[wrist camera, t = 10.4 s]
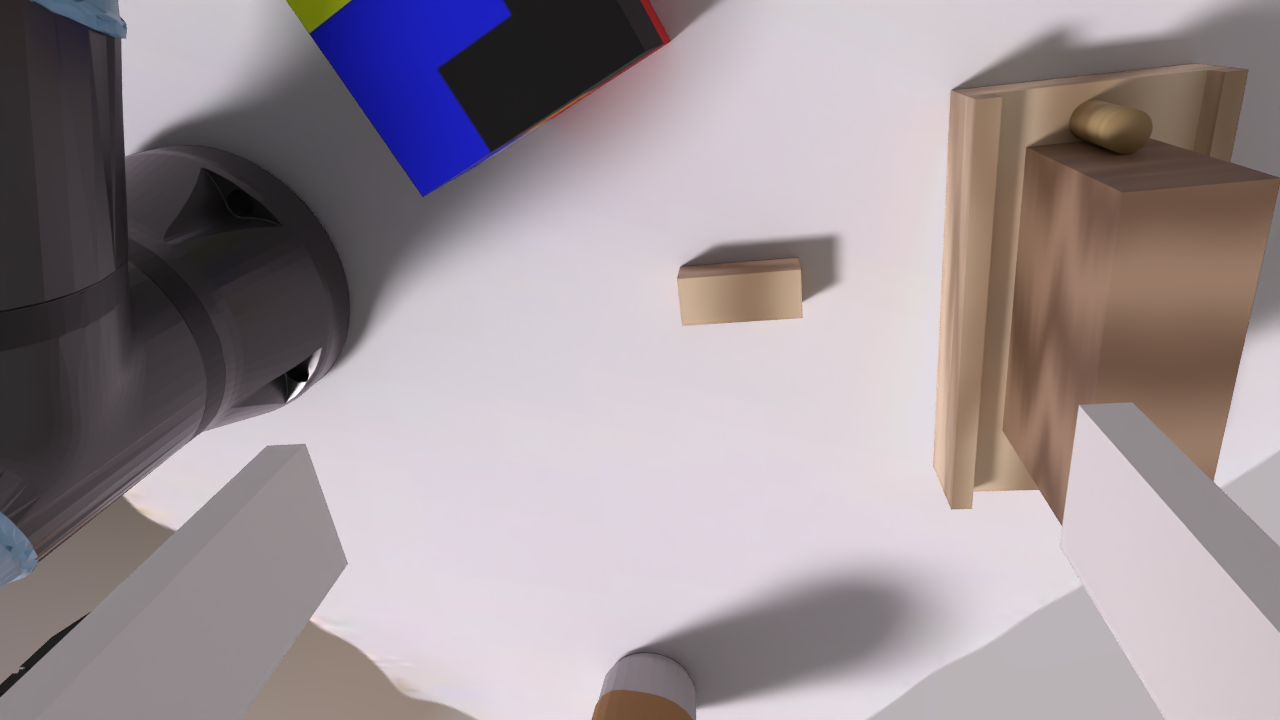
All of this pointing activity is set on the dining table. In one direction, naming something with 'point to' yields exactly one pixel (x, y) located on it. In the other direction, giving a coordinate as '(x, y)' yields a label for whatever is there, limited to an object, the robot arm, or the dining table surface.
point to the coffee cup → (646, 690)
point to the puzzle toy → (473, 68)
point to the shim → (740, 291)
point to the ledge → (990, 218)
